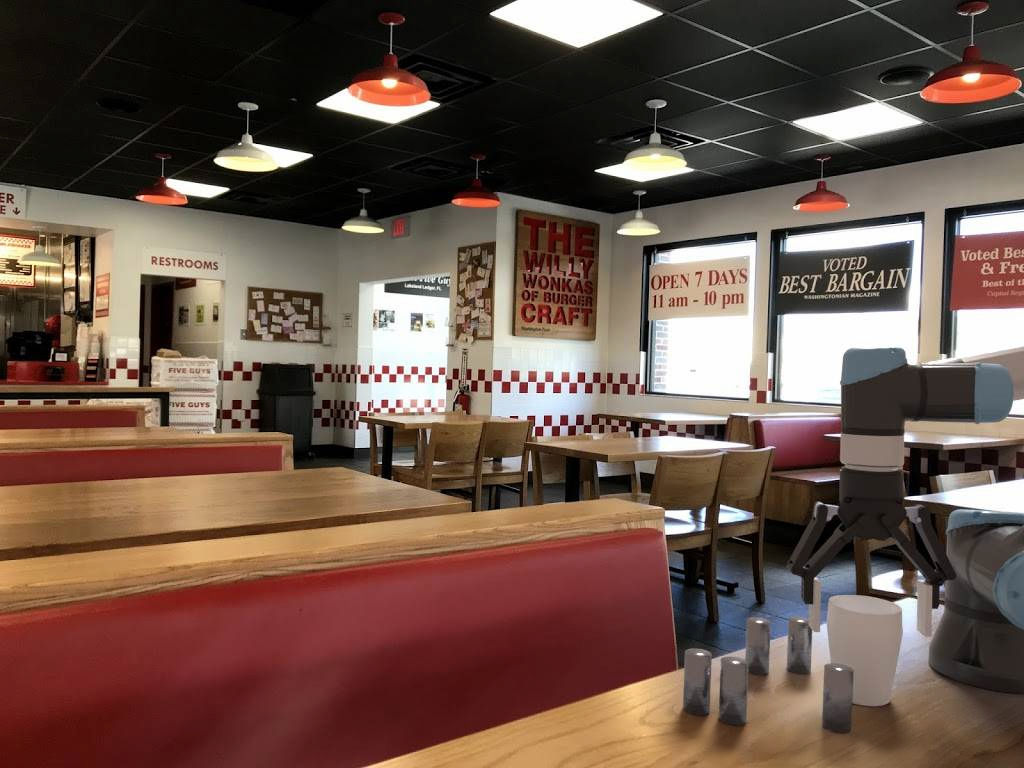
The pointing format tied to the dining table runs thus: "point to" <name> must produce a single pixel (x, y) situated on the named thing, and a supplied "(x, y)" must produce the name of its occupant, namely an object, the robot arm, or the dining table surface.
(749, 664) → the posts
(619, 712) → the dining table surface
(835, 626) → the cup
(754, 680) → the dining table surface
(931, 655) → the robot arm
